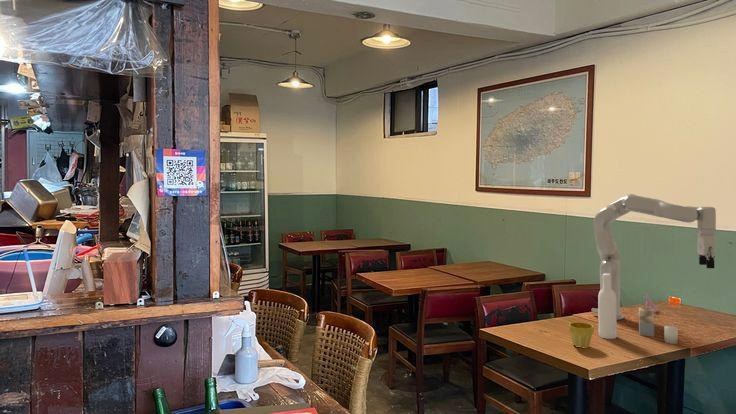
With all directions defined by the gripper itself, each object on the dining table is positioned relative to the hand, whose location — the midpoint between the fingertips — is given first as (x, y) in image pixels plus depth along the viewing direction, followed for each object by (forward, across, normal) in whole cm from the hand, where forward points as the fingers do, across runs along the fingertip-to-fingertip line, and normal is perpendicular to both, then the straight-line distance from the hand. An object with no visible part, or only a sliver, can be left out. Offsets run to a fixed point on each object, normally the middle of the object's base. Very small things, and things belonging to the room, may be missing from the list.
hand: (706, 266), depth 250 cm
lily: (+30, -25, -19) cm, 44 cm away
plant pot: (+30, +41, -63) cm, 81 cm away
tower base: (+30, +18, -31) cm, 47 cm away
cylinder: (+30, +29, -24) cm, 48 cm away
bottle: (+30, +25, -50) cm, 63 cm away
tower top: (+24, +18, -31) cm, 43 cm away
